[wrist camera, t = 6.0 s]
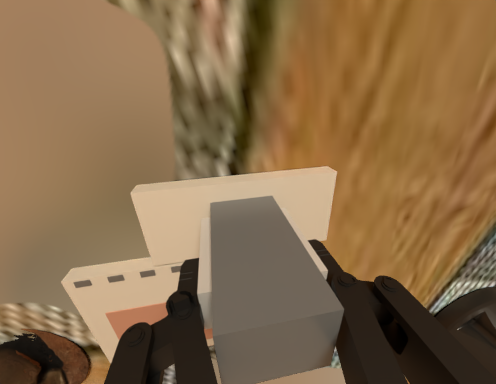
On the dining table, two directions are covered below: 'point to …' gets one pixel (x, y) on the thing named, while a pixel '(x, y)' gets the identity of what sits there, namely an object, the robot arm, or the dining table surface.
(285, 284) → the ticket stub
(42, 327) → the dining table surface
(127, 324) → the white flat piece
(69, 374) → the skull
